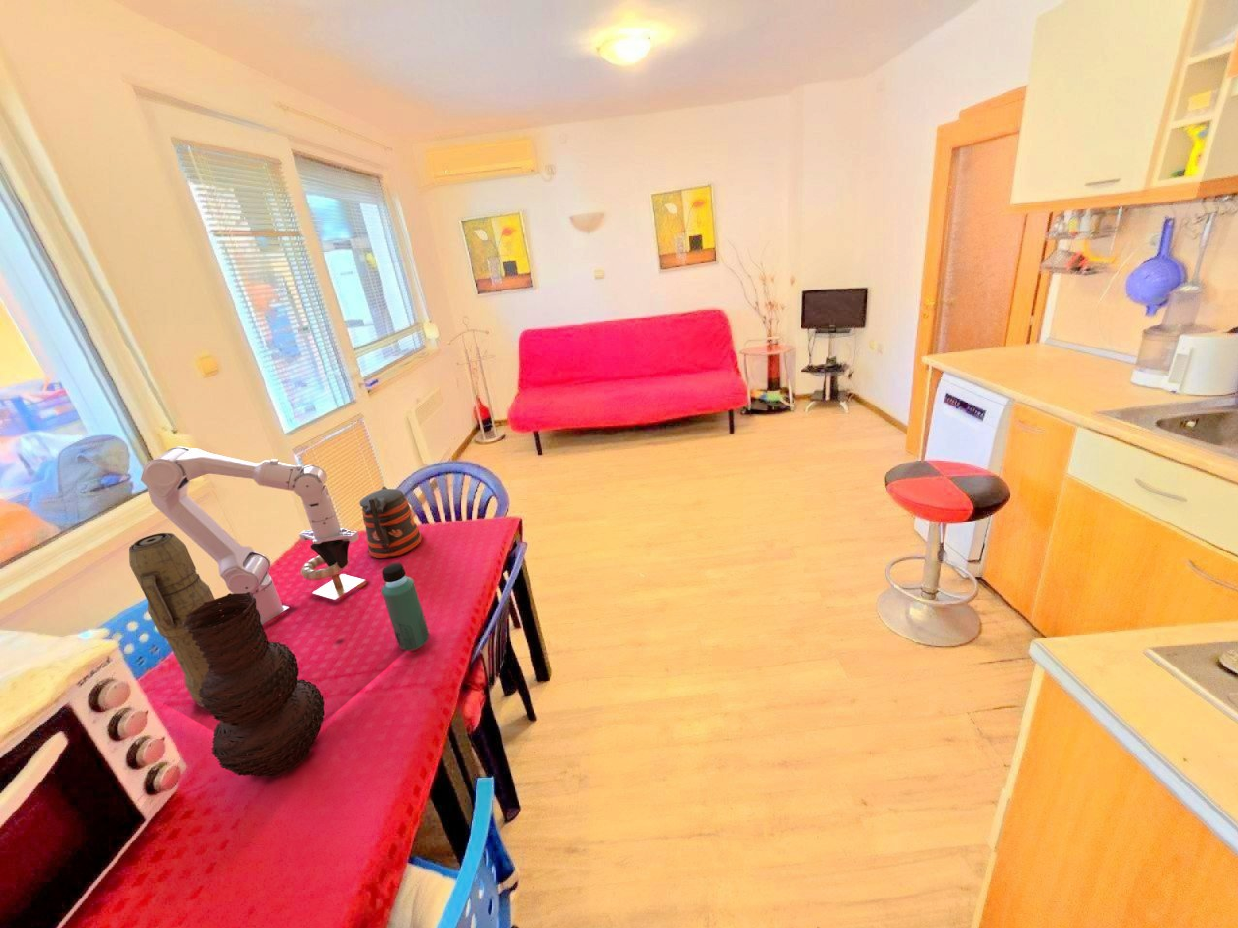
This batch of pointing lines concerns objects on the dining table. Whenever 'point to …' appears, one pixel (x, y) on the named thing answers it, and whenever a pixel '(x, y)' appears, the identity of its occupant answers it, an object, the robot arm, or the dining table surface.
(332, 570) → the ring
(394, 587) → the beverage bottle
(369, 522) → the beer stein
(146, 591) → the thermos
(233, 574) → the robot arm
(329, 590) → the stand
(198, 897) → the dining table surface
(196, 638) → the vase
